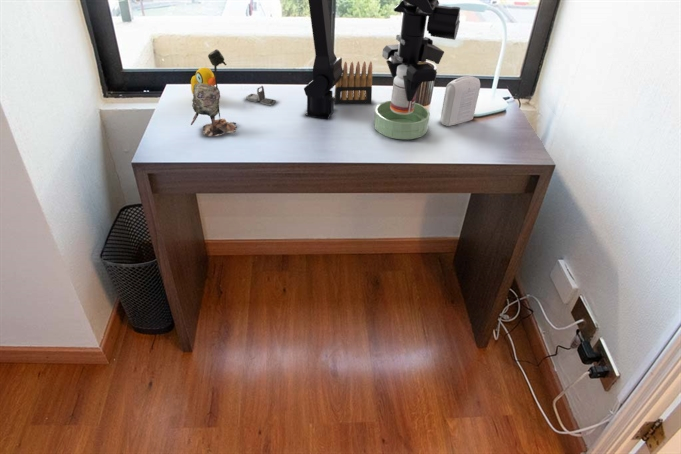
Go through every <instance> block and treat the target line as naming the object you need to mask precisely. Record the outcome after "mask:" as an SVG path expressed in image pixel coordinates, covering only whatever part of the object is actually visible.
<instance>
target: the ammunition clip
mask: <svg viewBox="0 0 681 454" xmlns="http://www.w3.org/2000/svg"><path fill="white" fill-rule="evenodd" d="M369 61H370V60H369ZM342 69H343V71H344V72H343V73H342V75H341V79H340V80H339V81H338V82H337V83H336V84H335V86H334V96H333V97H334V105H368V104H369V105H370V104H372V98H373V97H372V93H373V63H372V61H370V62H369V63H368V67H367V64H366V61H363V63H362V65H361V64H360V61H357V63H356V66H355V65H354V62H353V61H351V62H350V64H349V71H348V63H347V61H344V64H343V66H342ZM348 72H349V73H348Z"/></svg>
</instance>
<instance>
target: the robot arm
mask: <svg viewBox="0 0 681 454" xmlns="http://www.w3.org/2000/svg"><path fill="white" fill-rule="evenodd" d="M328 1H329V0H308V7H309V8H308V9H309V15H310V24H311V31H312V38H313V48H314V62H313V65H312V80H311V81H310V82H309V83H308V84H307V85H306V86H304V87H303V90H304V91H303V92H304V94H305V96H306V111H305V112H304V116H305V117H312V118H319V119H325V120H328V119H329V118H330V117H331V115H332V114H333V112H334V111H335V103H334V96H333V90H332V89H333V88H335V84H336V83H337V82H338V81H339V80H340V79H341V80H342V75H343V72H344V71H343V58H342V57H341V56H340V57H337V56H336V54H335V52H334V47H333V39H332V38H333V36H332V28H331V19H330V9H329V3H328ZM393 12H395V13H401V20H400V28H399V34H396V35H395V36H396V37H395V40H396V41H398V44H397V43H396V44H387V45H386V44H385V46H384V47H383V48H382V55H381V57H382V58H384V59H385V60H386V64H387V67H388V70H389V73H390V75H391V78H392V81H394V78H395V77H396V76H397V74H396V73H397V67H398V66H399V65H401V64H403V65H404V66H406V67H408V68H407V71H406V75H405V76H403V80H404V86H405V91H406V97H407V101H412V99H413V97H414V95H415V93H416V92H417V93H418V89H419V88H420V86H421V84H422V83H427V82H435V81H436V80H437V74H438V72H437V70H436V69H435V68H434V67H432V66H431V65H430V63H426V62H427V61H430V62H433V63H435V64H436V65H439V64H440V63H441V60H442V58H443V56H444V54H445V51H444V50H443V49H442V48H439V47H438V46H437V45H435V44H434V40H433V39H431V38H430V37H433V38H441V39H445V40H446V39H447V40H453V41H456V38H457V35H458V32H459V28H460V23H461V20H460V17H461V15H460V13H461V7H460V6H447V5H440V1H439V0H401V1H400V2H399V4H397V5H396V6H395V7H394V8H393ZM425 31H426V32H427V34H430V35H429V36H430V37H427V36H425V33H426V32H425Z"/></svg>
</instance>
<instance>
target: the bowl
mask: <svg viewBox="0 0 681 454" xmlns="http://www.w3.org/2000/svg"><path fill="white" fill-rule="evenodd" d="M390 106H391V100H385V101H383V102H381V103H379V104H377V105H376V107H375V109H374V120H373V126H374V129H375V130H376V131H377V132H378V133H379V134H381V135H383V136H385V137H387V138H390V139H397V140H413V139H419V138H421V137H423V136H425V135H426V134H427V132H428V128H429V123H430V116H431V113H430V111H429V109H428V108H427V107H426V106H424V105H422V104H421V103H417V102H415V107H414V111H413V112H412V113H411V114H408V115H400V114H396V113H394V112H393V111H392V110H391V109H390Z"/></svg>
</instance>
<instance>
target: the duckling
mask: <svg viewBox="0 0 681 454" xmlns="http://www.w3.org/2000/svg"><path fill="white" fill-rule="evenodd" d="M198 83H203V84H207V85H212V86H216V83H215V73H214V72H213V71H212V69H210V68H209V67H200V68H198V69H197V70H196V72H195V75H193V76H192V77H191V80H190V90H191V93H192V95H193V87H194V85H195V84H198Z"/></svg>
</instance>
